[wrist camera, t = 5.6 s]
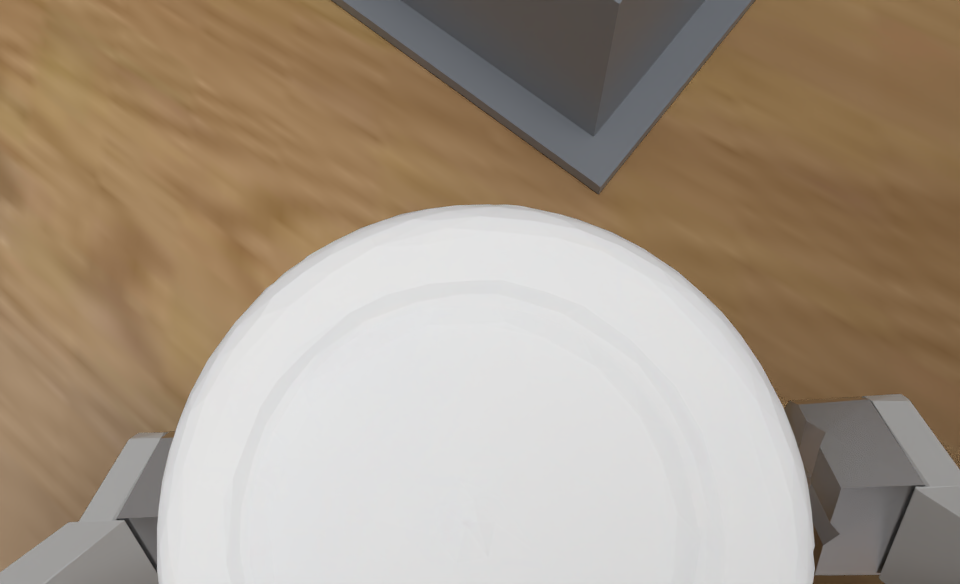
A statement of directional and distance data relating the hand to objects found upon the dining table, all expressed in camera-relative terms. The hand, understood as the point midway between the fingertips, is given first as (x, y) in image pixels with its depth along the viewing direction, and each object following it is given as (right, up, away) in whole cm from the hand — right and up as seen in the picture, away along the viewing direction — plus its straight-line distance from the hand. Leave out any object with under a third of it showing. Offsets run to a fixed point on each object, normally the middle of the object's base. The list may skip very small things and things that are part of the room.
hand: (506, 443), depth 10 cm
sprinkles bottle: (+1, -2, +7) cm, 8 cm away
